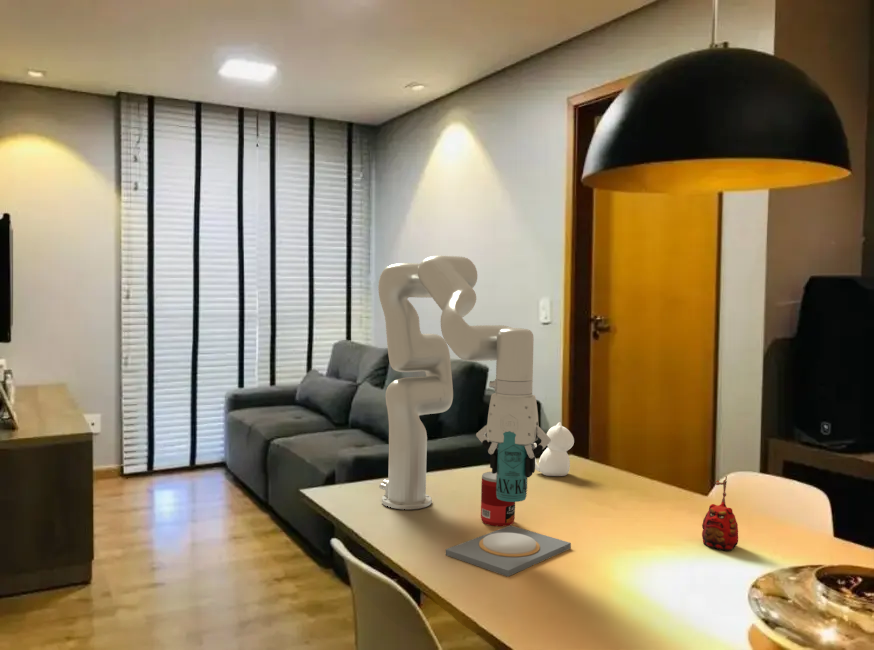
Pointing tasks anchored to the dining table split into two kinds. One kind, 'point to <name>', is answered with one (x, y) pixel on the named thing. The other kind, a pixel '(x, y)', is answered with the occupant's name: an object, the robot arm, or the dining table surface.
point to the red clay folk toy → (720, 525)
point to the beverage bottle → (511, 470)
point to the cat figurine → (556, 452)
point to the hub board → (508, 550)
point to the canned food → (494, 503)
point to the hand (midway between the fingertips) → (512, 473)
